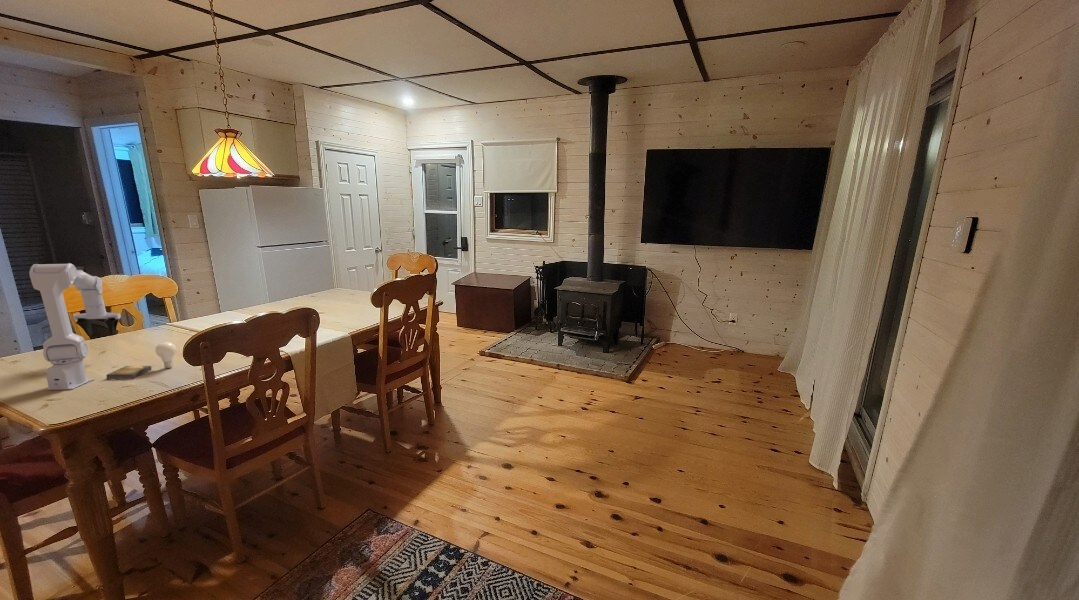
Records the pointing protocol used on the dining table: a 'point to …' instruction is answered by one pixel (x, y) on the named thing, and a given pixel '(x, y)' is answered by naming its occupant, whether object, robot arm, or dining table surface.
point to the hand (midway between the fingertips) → (102, 334)
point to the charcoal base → (128, 372)
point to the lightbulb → (166, 353)
